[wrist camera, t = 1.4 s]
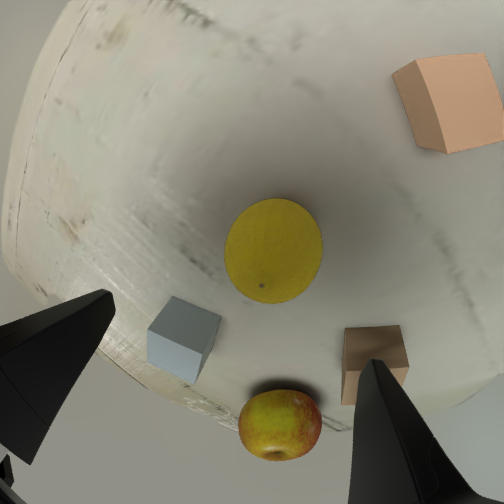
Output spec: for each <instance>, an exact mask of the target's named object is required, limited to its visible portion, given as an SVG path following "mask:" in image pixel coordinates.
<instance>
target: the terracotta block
mask: <svg viewBox="0 0 504 504" xmlns="http://www.w3.org/2000/svg"><path fill="white" fill-rule="evenodd" d="M392 77H393V80H394V82H395V84H396V87H397V89H398V92H399V94H400V97H401V99H402V102H403V105H404V107H405V110H406V113H407V116H408V119H409V122H410V125H411V128H412V131H413V134H414V137H415V141H416V144H417V145H418V146H422V147H425V148H429V149H432V150H436V151H439V152H442V153H446V154H450V153H454V152H458V151H462V150H466V149H470V148H474V147H478V146H483V145H487V144H491V143H496V142H500V141H504V109H503V105H502V102H501V98H500V95H499V92H498V89H497V86H496V83H495V80H494V77H493V74H492V71H491V69H490V66H489V64H488V61H487V59H486V56H485V54H484V53H474V54H458V55H447V56H438V57H430V58H423V59H417V60H414V61H412V62H411V63H409V64H408V65H406V66H404V67H403V68H401V69H400V70H398V71H396V72H395V73H393V74H392Z"/></svg>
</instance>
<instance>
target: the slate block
mask: <svg viewBox="0 0 504 504" xmlns="http://www.w3.org/2000/svg"><path fill="white" fill-rule="evenodd" d="M220 320H221V316H219V315H217V314H214V313H212V312H209V311H207V310H204V309H202V308H200V307H197V306H195V305H192V304H190V303H188V302H185V301H183V300H181V299H178V298H176V297H174V296H173V297H172V298H171V299H170V300H169V302H168V303H167V304H166V306H165V307H164V308H163V309H162V311H161V312H160V313H159V315H158V316H157V317H156V319H155V320H154V321H153V322H152V324H151V325H150V326H149V328H148V329H147V362H148V363H150V364H152V365H154V366H156V367H158V368H160V369H162V370H165V371H167V372H169V373H171V374H173V375H175V376H178V377H180V378H182V379H184V380H187V381H189V382H191V383H194V384H195V383H196V381H197V379H198V377H199V374H200V372H201V370H202V368H203V366H204V364H205V362H206V360H207V358H208V356H209V354H210V352H211V349H212V347H213V343H214V340H215V336H216V333H217V330H218V326H219V323H220Z"/></svg>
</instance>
